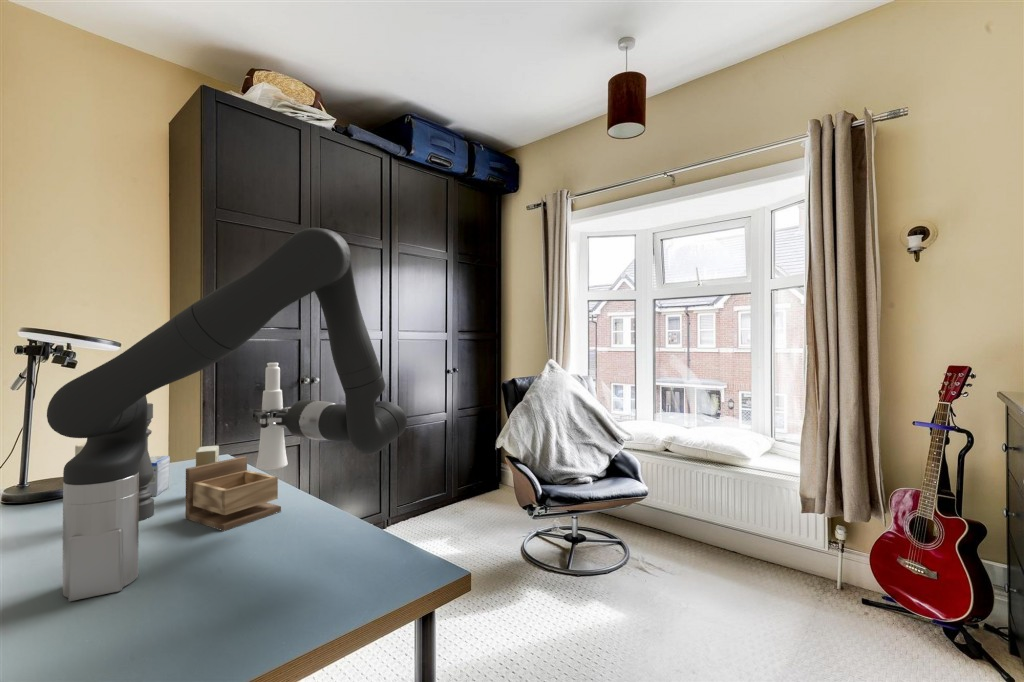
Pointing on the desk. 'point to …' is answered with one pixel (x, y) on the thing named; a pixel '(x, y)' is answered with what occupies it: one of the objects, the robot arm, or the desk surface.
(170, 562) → the desk surface
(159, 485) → the medicine box
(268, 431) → the cosmetic bottle
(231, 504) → the wooden box caddy
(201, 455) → the skincare box
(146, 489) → the candle holder
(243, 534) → the desk surface
